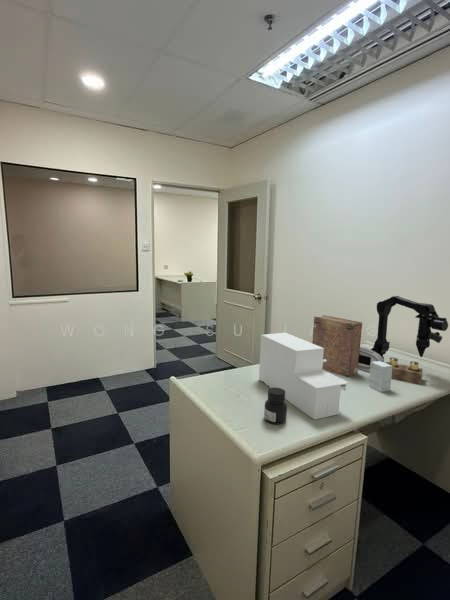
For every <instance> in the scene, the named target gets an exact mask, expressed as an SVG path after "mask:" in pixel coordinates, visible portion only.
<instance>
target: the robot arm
mask: <svg viewBox="0 0 450 600" xmlns="http://www.w3.org/2000/svg"><path fill="white" fill-rule="evenodd" d="M396 305H400V306H403V307H406V308H409V309H412V310H413V311H415V313H417V315H415V317H414V318H415V319H419V320H418V329H417V334H416V340H415V346H416V348H417V352H418V356H419V357H421V358H423V356H424V355H425V352H426V349H427V348H430V345H431V341H430V340H432V341H434V342H435V343H437V344H440V343H441V341H442V340H443V336H442V335H441V334H440V332H438V331H442V332H446V331H447V330H448V328H449V322H448V319H447V317H440V316H439V315H438V313H437V311H436V308H435V306H434V305H433V304H432V303H431V304H430V303H426V302H425V303H422V302H416V301H415V300H414V301H413V300H410V299H408V298H404V297H402V296H399V295H393V296H391V297H389V298H386V299H384V300H382V301H378V302H377V303H376V312H377V314H378V324H377V335H376V337H377V338H376V339H375V341H374V344H373V347H371V348H370V349H371V350H372V351H374V352H376V353H378V354H379V355H380V356H381V357H382V358H383V359H384V360H385V357H384V355H386V353H387V352H388V351H389V349H390V344H391V343H390V341H388V340H387V331H388V330H387V329H388V317H389V315H390V313H391V311H392V308H393V307H394V306H396ZM432 330H437V331H436V332H433V331H432Z"/></svg>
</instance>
